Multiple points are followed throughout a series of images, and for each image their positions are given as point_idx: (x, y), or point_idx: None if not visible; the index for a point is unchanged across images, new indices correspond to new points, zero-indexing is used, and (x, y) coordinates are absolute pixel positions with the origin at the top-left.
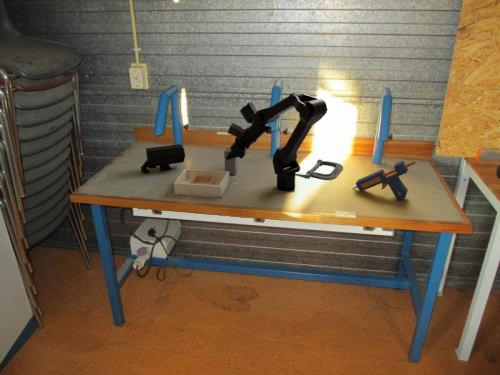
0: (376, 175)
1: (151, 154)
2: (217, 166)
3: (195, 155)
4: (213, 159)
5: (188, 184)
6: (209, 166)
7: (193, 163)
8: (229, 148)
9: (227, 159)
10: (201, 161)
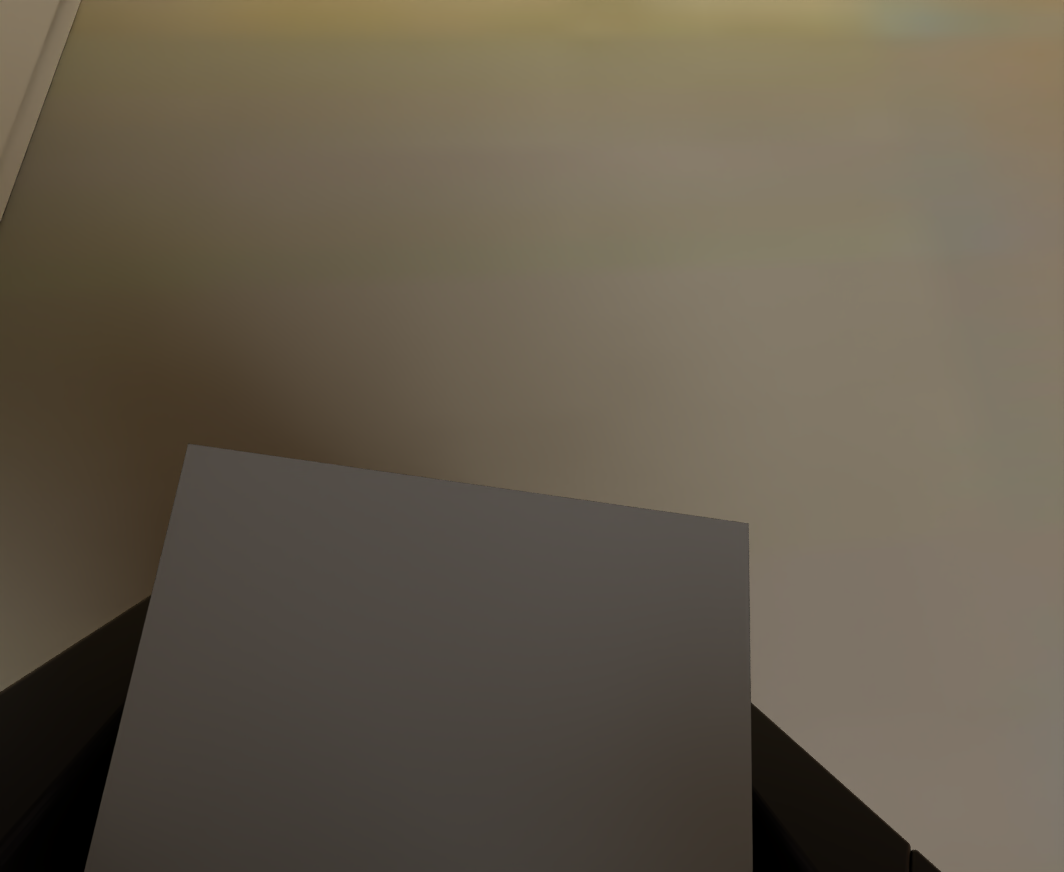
0: None
1: None
2: (684, 431)
3: (1050, 77)
4: (976, 341)
5: None
6: (665, 291)
7: (752, 53)
8: (689, 681)
9: None
10: (852, 161)
